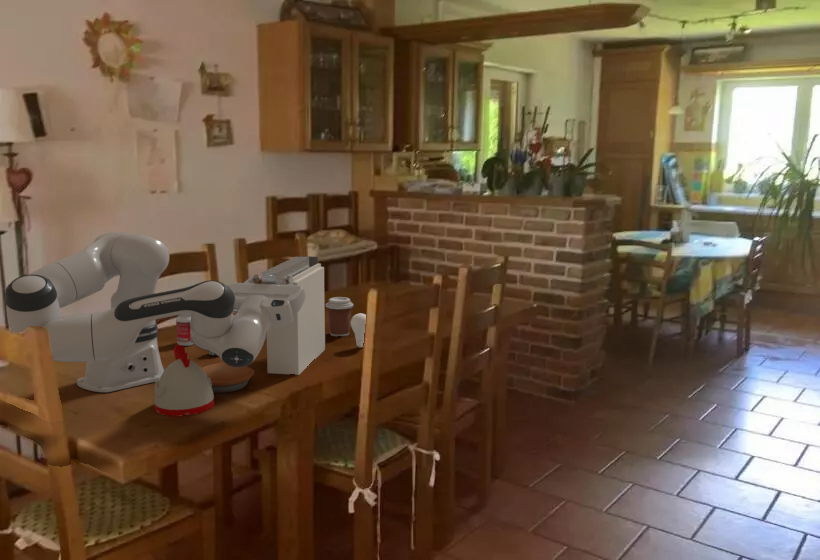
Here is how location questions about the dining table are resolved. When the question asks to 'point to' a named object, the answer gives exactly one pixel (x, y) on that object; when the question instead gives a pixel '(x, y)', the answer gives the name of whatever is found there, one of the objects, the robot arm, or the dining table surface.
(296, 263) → the brushed metal bar
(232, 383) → the pie
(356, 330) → the lightbulb
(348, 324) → the coffee cup
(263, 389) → the dining table surface
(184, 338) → the pill bottle
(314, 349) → the stand
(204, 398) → the kitchen timer
